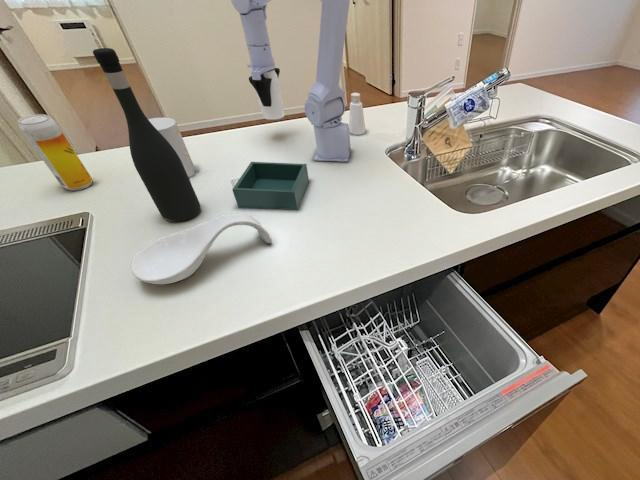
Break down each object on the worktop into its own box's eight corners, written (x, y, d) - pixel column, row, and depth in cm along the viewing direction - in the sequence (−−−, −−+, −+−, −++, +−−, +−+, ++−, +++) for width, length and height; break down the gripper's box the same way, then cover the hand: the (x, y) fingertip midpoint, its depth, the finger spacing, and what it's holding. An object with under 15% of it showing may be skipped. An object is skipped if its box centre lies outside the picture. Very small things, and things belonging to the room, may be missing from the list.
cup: (201, 173, 89) (181, 124, 80) (169, 184, 85) (144, 133, 76) (187, 162, 93) (166, 114, 84) (155, 172, 88) (130, 123, 80)
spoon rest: (149, 304, 58) (126, 273, 53) (133, 267, 64) (111, 235, 59) (280, 251, 69) (272, 221, 64) (256, 224, 75) (246, 194, 70)
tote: (309, 180, 89) (306, 163, 85) (297, 209, 79) (294, 192, 76) (255, 178, 88) (251, 161, 85) (238, 207, 79) (232, 189, 76)
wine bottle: (158, 210, 77) (70, 46, 55) (196, 199, 80) (126, 42, 59) (167, 227, 73) (75, 58, 51) (206, 216, 76) (136, 52, 54)
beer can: (100, 182, 84) (58, 116, 73) (77, 193, 80) (29, 126, 69) (81, 177, 85) (37, 111, 75) (57, 188, 81) (7, 121, 71)
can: (288, 113, 104) (279, 66, 95) (280, 121, 99) (271, 73, 91) (267, 111, 104) (256, 65, 95) (259, 119, 100) (247, 71, 91)
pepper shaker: (345, 132, 111) (342, 94, 103) (355, 127, 114) (353, 89, 106) (359, 136, 109) (357, 97, 101) (369, 131, 112) (368, 93, 104)
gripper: (251, 37, 94) (264, 93, 104) (233, 49, 84) (248, 110, 94) (277, 38, 94) (287, 94, 104) (262, 50, 84) (274, 111, 94)
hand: (270, 102), depth 99 cm, fingers closed on can, 6 cm apart
